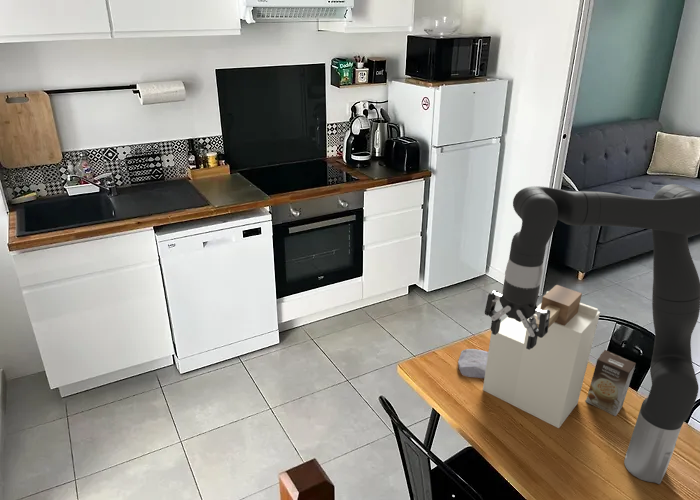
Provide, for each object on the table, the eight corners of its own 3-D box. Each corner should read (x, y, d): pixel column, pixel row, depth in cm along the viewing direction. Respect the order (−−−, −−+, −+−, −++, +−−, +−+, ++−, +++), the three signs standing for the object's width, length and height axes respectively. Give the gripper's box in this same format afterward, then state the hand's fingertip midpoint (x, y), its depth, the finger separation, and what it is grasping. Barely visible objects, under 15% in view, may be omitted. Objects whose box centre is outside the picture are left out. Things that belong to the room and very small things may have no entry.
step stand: (577, 403, 161) (602, 304, 146) (558, 428, 152) (583, 325, 137) (504, 368, 175) (519, 275, 161) (482, 390, 166) (497, 293, 151)
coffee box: (584, 402, 162) (595, 358, 155) (592, 391, 166) (603, 348, 159) (616, 417, 156) (629, 372, 149) (623, 406, 160) (636, 362, 153)
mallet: (577, 312, 147) (582, 293, 144) (547, 344, 133) (551, 323, 131) (552, 303, 151) (556, 284, 149) (520, 333, 138) (524, 313, 135)
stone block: (459, 380, 173) (491, 379, 170) (457, 368, 171) (489, 367, 169) (459, 359, 184) (489, 358, 181) (458, 347, 182) (488, 346, 179)
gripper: (561, 283, 115) (548, 345, 122) (501, 262, 124) (492, 322, 131) (546, 296, 110) (534, 360, 117) (484, 273, 119) (476, 334, 126)
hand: (512, 340), depth 124 cm, fingers open, 8 cm apart
